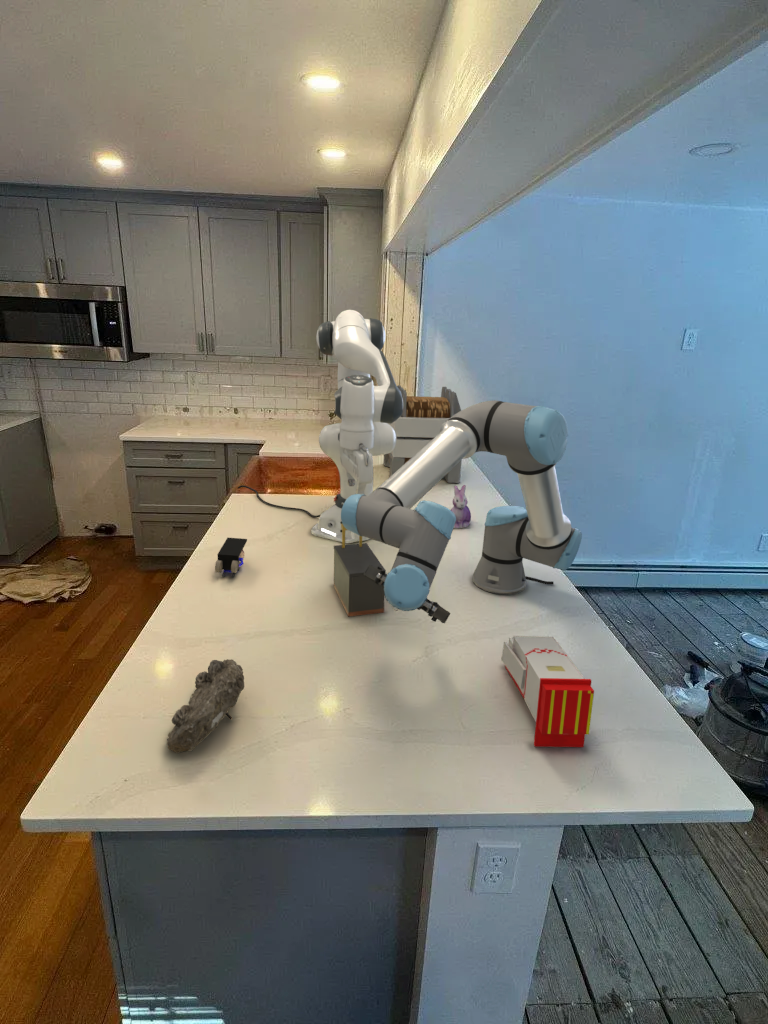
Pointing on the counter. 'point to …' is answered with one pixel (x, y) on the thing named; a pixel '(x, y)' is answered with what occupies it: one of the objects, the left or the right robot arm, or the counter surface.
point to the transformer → (421, 428)
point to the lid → (356, 556)
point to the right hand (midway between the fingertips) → (406, 595)
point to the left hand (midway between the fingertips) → (355, 490)
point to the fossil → (206, 705)
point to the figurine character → (230, 556)
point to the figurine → (461, 508)
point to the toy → (550, 690)
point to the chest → (357, 592)
